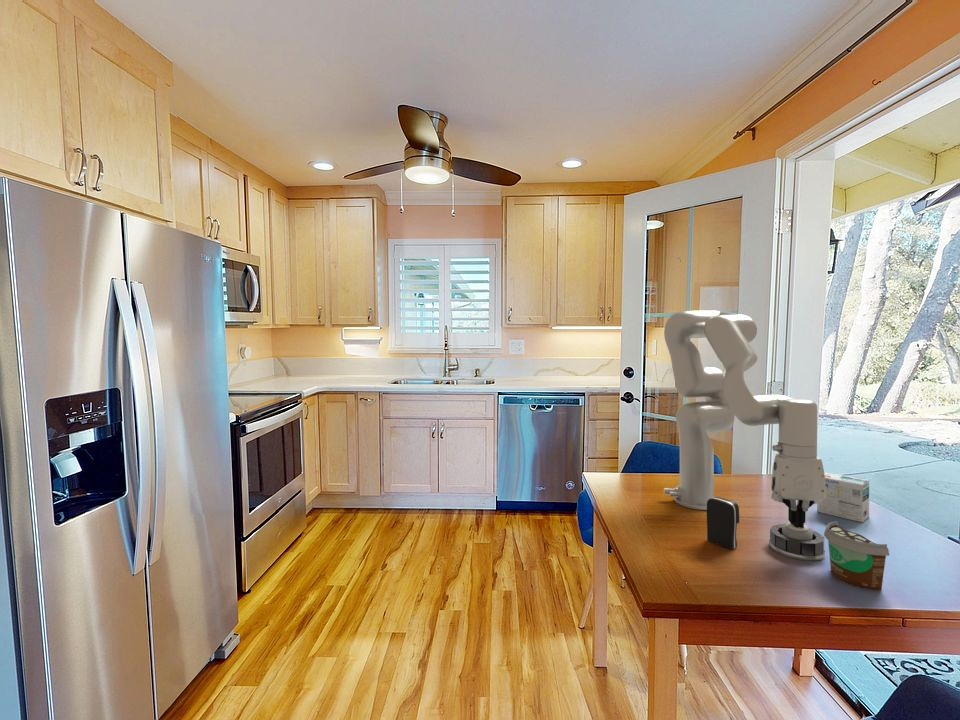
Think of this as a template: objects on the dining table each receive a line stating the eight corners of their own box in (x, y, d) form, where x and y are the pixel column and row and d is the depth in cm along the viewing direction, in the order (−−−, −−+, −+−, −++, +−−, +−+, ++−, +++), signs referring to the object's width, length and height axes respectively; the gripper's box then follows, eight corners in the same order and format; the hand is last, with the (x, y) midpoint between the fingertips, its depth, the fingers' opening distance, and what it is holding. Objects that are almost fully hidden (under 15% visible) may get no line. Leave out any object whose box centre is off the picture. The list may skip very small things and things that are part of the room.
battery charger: (741, 546, 110) (741, 501, 110) (733, 551, 108) (733, 504, 108) (713, 536, 116) (713, 493, 116) (705, 540, 114) (705, 496, 114)
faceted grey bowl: (781, 559, 104) (781, 542, 104) (761, 538, 115) (761, 522, 114) (835, 562, 102) (835, 545, 101) (809, 540, 112) (810, 525, 112)
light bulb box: (869, 517, 126) (870, 479, 125) (863, 523, 122) (864, 484, 121) (823, 506, 134) (824, 471, 134) (816, 512, 130) (816, 475, 130)
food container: (809, 565, 101) (809, 522, 100) (834, 563, 101) (835, 520, 101) (860, 596, 89) (861, 547, 88) (888, 594, 89) (889, 545, 89)
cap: (789, 550, 106) (789, 530, 105) (777, 539, 111) (777, 519, 111) (817, 552, 104) (818, 531, 104) (804, 541, 110) (804, 521, 110)
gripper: (769, 453, 105) (769, 530, 106) (842, 455, 102) (841, 534, 103) (756, 446, 112) (756, 517, 113) (823, 447, 109) (823, 520, 110)
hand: (796, 525), depth 108 cm, fingers closed
